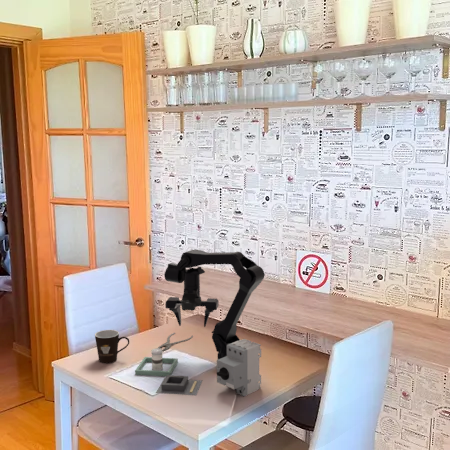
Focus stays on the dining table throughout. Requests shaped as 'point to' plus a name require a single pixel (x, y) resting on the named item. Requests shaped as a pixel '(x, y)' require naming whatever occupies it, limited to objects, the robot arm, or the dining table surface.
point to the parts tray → (156, 373)
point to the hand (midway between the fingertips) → (192, 326)
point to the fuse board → (179, 385)
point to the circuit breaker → (240, 367)
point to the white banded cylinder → (157, 359)
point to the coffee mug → (108, 345)
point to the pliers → (168, 344)
